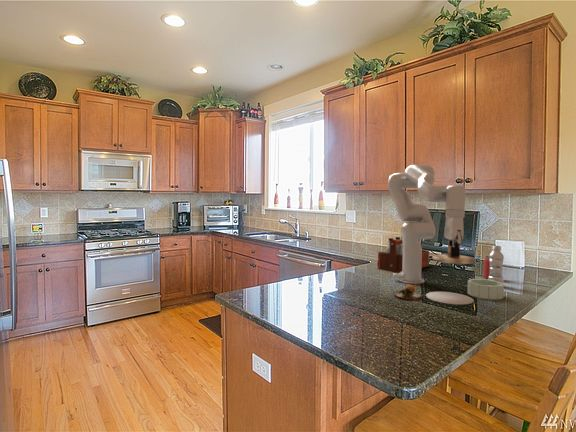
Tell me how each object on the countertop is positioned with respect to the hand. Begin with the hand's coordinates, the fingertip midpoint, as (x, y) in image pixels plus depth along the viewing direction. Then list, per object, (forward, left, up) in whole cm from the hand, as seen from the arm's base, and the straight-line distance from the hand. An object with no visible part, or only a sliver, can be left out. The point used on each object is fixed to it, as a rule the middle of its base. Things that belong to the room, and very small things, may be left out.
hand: (453, 255), depth 150 cm
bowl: (+16, +5, -19) cm, 26 cm away
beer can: (+35, +39, -19) cm, 56 cm away
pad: (-2, -1, -19) cm, 19 cm away
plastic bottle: (+30, +24, -19) cm, 44 cm away
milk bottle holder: (-4, +67, -20) cm, 70 cm away
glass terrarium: (-20, -1, -20) cm, 28 cm away
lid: (0, 0, -2) cm, 2 cm away
